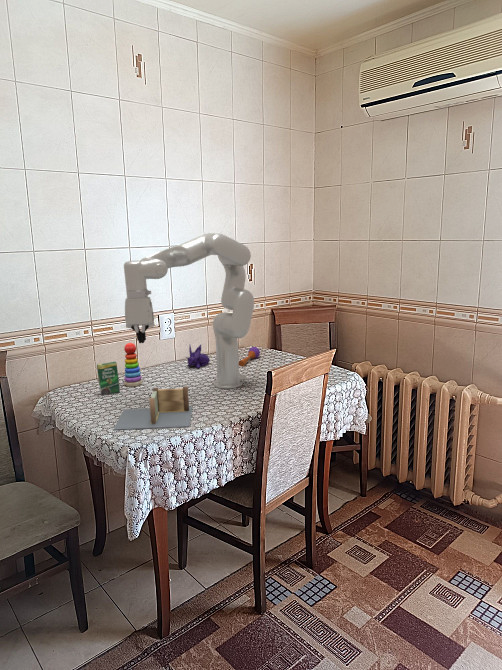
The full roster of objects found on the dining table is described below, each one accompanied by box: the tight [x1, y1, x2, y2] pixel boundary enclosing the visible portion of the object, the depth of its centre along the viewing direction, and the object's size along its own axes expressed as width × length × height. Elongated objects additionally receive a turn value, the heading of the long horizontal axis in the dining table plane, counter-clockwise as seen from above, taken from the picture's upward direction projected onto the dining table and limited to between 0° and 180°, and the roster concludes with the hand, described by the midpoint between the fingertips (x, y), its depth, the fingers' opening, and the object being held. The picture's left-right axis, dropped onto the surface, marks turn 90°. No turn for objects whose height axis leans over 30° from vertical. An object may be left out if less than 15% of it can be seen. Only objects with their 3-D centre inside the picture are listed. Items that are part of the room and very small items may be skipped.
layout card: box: [112, 405, 194, 431], centre depth 180 cm, size 26×19×1 cm
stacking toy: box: [123, 342, 143, 387], centre depth 217 cm, size 8×8×19 cm
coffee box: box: [96, 361, 121, 396], centre depth 207 cm, size 8×3×13 cm, turn 114°
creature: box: [185, 344, 210, 369], centre depth 244 cm, size 9×18×12 cm, turn 147°
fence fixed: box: [152, 385, 190, 412], centre depth 184 cm, size 13×2×9 cm, turn 93°
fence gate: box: [149, 390, 158, 423], centre depth 178 cm, size 11×2×9 cm, turn 4°
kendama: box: [239, 346, 261, 367], centre depth 251 cm, size 6×6×20 cm
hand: (141, 342), depth 187 cm, fingers closed
